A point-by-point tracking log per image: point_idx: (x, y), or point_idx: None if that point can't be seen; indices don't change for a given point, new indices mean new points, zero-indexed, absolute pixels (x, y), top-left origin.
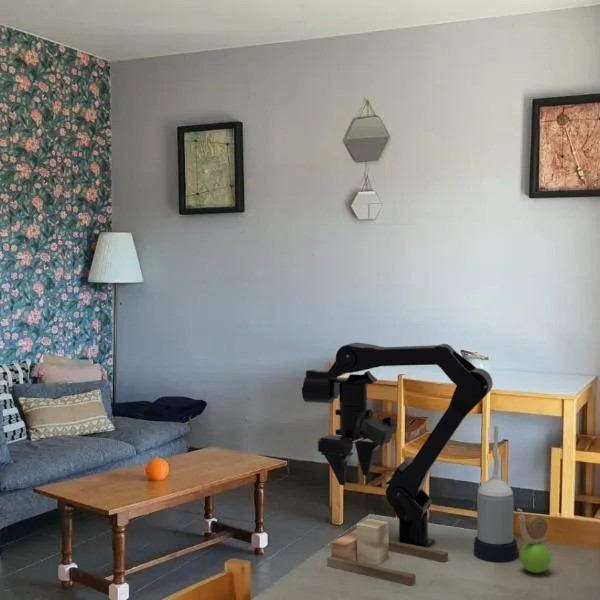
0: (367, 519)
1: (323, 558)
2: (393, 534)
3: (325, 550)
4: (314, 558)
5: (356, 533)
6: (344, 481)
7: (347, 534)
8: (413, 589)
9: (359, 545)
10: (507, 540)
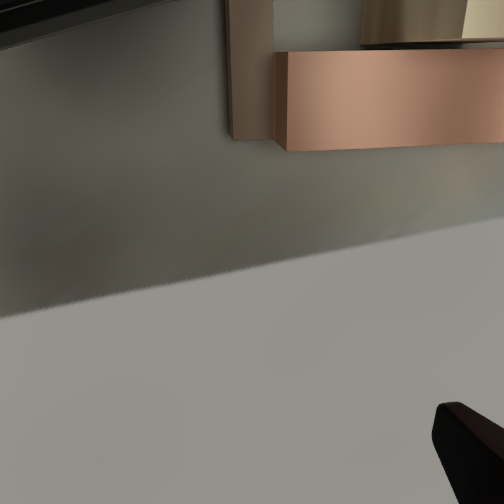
0: (484, 30)
1: (487, 185)
2: (21, 95)
3: (402, 233)
4: (499, 213)
5: (434, 106)
6: (484, 423)
7: (470, 139)
8: None
9: None
10: None
